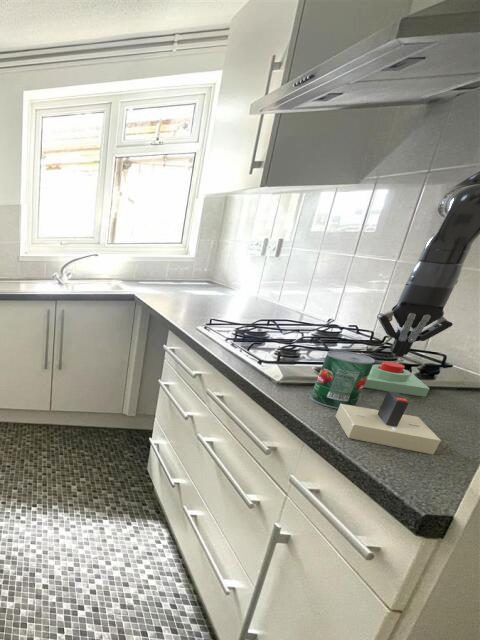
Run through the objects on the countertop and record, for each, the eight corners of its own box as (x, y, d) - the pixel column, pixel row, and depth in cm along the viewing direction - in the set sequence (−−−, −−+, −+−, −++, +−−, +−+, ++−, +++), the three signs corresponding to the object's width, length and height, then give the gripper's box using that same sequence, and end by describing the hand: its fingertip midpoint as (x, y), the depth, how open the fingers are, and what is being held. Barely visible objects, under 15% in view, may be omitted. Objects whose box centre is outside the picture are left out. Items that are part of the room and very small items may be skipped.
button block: (408, 382, 104) (415, 367, 103) (425, 397, 96) (433, 381, 94) (347, 373, 109) (353, 359, 108) (359, 386, 101) (365, 371, 100)
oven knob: (377, 413, 82) (388, 389, 80) (387, 415, 81) (399, 391, 79) (385, 424, 78) (397, 399, 76) (397, 426, 77) (409, 401, 75)
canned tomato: (302, 393, 98) (318, 349, 93) (339, 395, 96) (358, 351, 92) (323, 408, 90) (342, 361, 86) (364, 411, 89) (385, 363, 85)
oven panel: (411, 430, 82) (418, 415, 81) (433, 455, 74) (441, 439, 73) (335, 416, 87) (340, 402, 86) (348, 438, 79) (354, 423, 78)
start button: (398, 369, 102) (401, 363, 101) (404, 375, 99) (407, 368, 98) (377, 366, 104) (379, 360, 103) (382, 372, 100) (385, 365, 100)
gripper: (463, 283, 93) (427, 355, 100) (386, 277, 99) (357, 346, 106) (481, 288, 87) (441, 365, 94) (397, 282, 93) (366, 355, 100)
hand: (396, 355), depth 100 cm, fingers closed
